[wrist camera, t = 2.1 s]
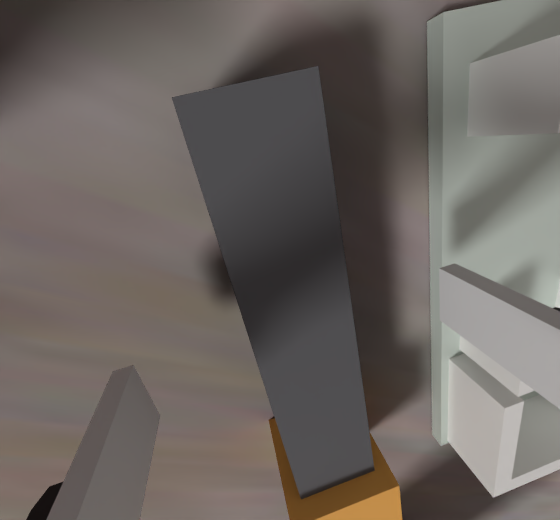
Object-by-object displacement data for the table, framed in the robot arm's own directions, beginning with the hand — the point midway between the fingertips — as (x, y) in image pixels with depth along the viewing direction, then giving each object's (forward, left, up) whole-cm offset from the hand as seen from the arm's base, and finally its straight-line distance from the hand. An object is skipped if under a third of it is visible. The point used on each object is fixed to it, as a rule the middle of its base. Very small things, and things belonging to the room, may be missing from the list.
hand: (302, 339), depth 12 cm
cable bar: (+2, 0, -4) cm, 5 cm away
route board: (+3, +15, -4) cm, 15 cm away
